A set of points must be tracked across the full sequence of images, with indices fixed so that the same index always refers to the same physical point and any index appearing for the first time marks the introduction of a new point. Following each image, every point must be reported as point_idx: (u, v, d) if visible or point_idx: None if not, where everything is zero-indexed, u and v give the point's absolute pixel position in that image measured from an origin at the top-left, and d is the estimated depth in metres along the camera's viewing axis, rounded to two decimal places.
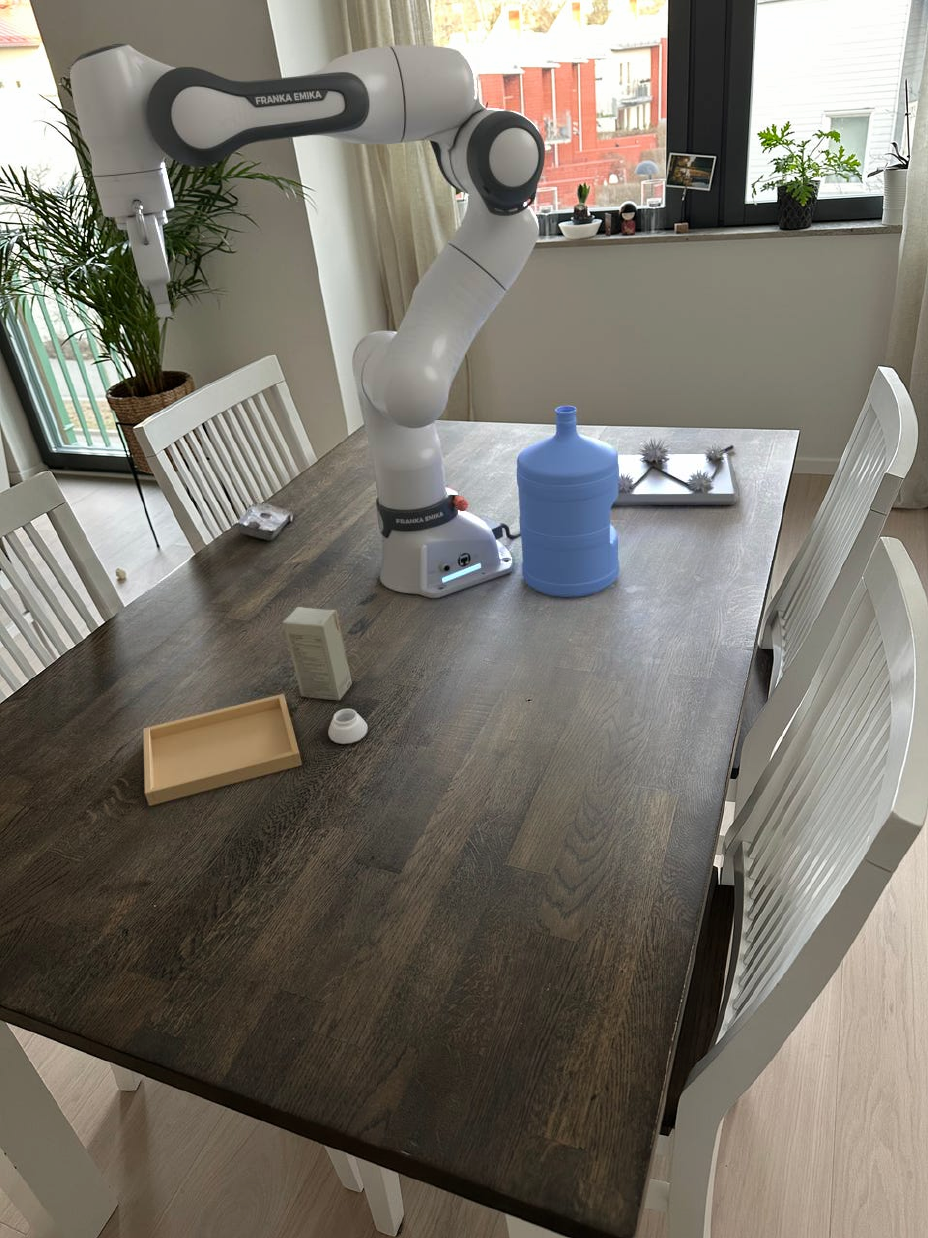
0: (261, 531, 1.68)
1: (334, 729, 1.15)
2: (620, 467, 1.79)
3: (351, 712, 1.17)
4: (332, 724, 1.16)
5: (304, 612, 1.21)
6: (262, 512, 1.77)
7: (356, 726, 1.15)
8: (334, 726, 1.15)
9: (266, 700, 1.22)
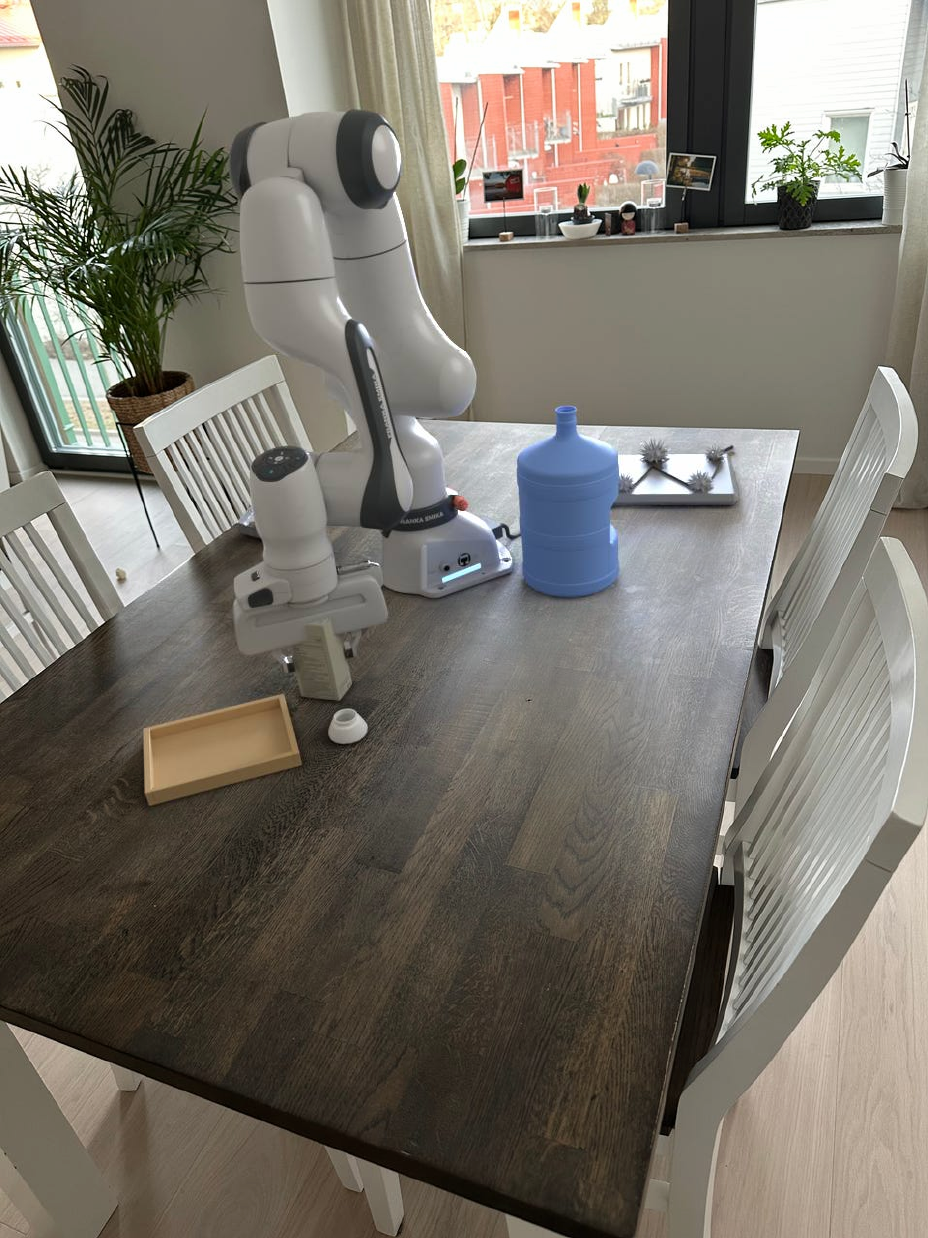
0: None
1: (334, 729, 1.15)
2: (620, 467, 1.79)
3: (351, 712, 1.17)
4: (332, 724, 1.16)
5: None
6: None
7: (356, 726, 1.15)
8: (334, 726, 1.15)
9: (266, 700, 1.22)
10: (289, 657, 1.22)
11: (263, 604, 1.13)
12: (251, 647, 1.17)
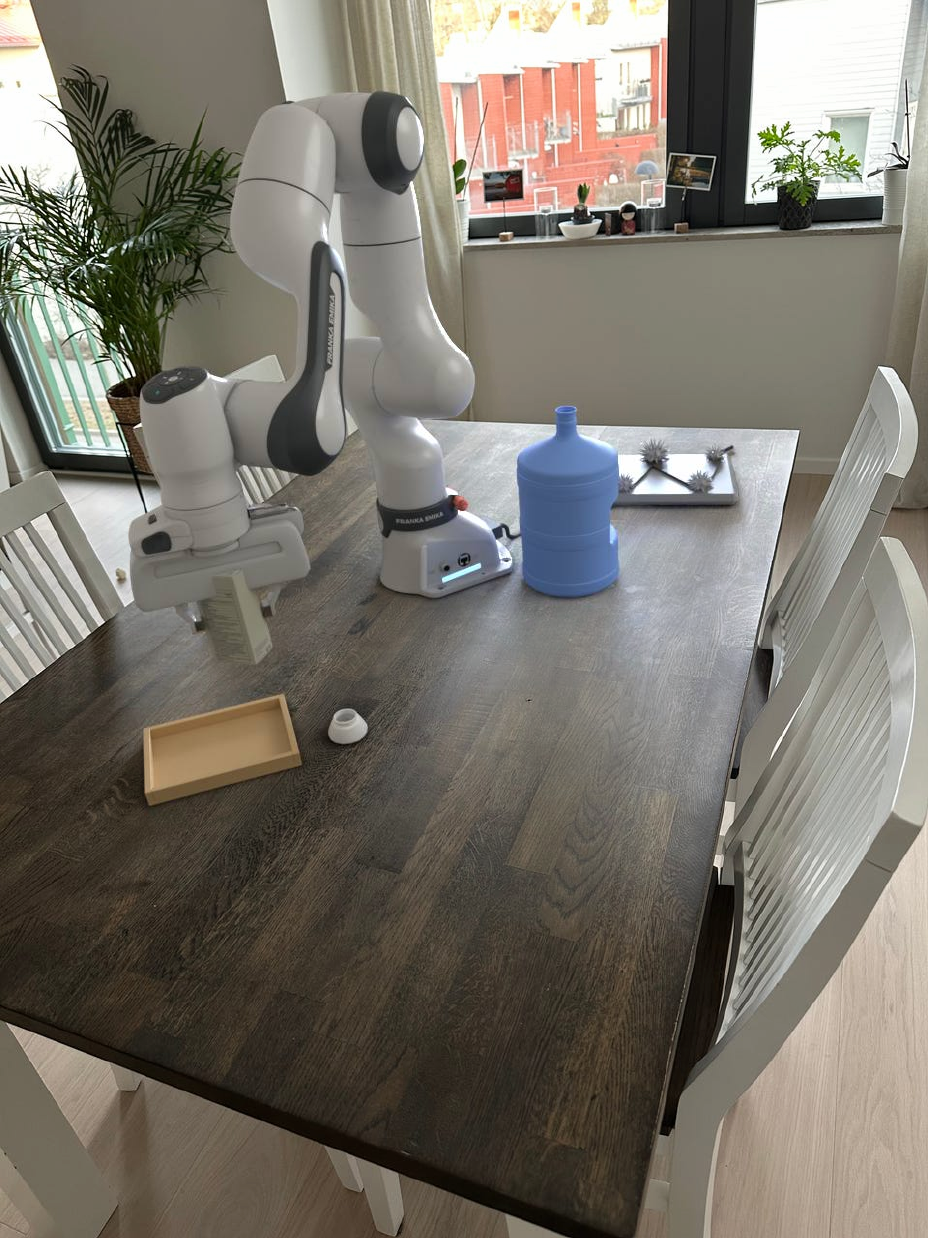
0: None
1: (334, 729, 1.15)
2: (620, 467, 1.79)
3: (351, 712, 1.17)
4: (332, 724, 1.16)
5: None
6: None
7: (356, 726, 1.15)
8: (334, 726, 1.15)
9: (266, 700, 1.22)
10: (198, 615, 1.08)
11: (160, 550, 0.99)
12: (150, 601, 1.02)
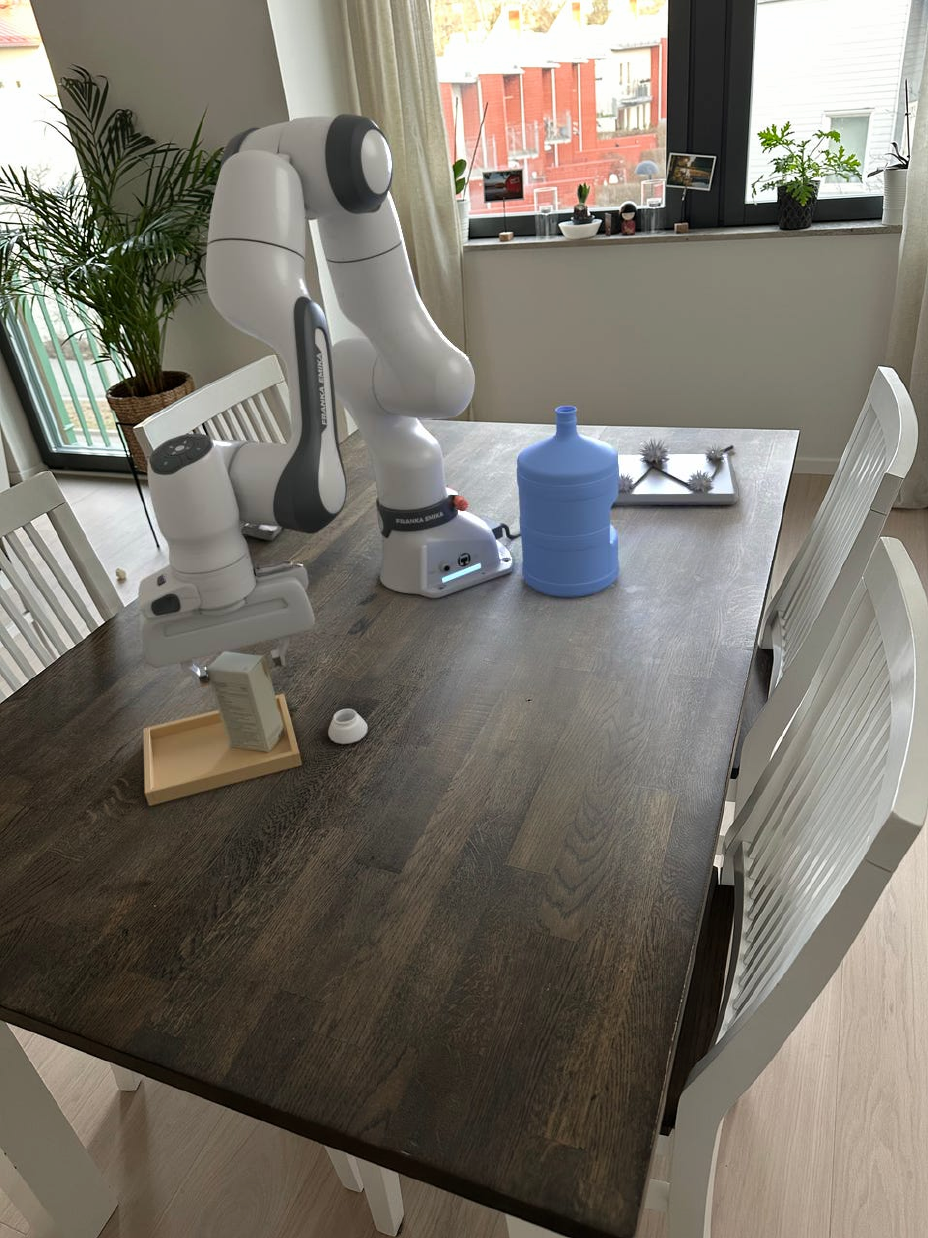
0: (261, 531, 1.68)
1: (334, 729, 1.15)
2: (620, 467, 1.79)
3: (351, 712, 1.17)
4: (332, 724, 1.16)
5: (230, 657, 1.12)
6: None
7: (356, 726, 1.15)
8: (334, 726, 1.15)
9: None
10: (202, 669, 1.10)
11: (169, 611, 1.01)
12: (160, 658, 1.05)
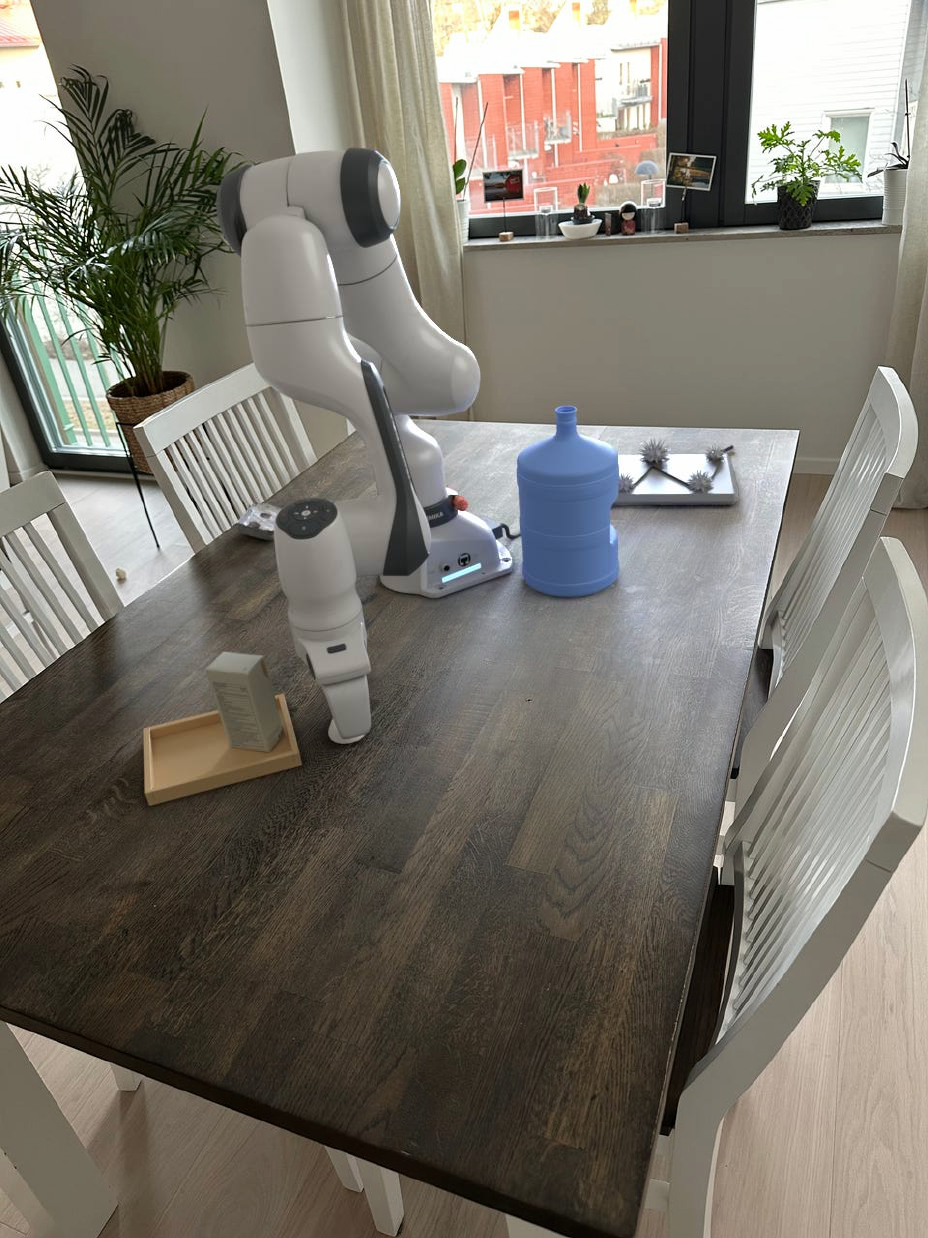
0: (261, 531, 1.68)
1: (334, 729, 1.15)
2: (620, 467, 1.79)
3: None
4: (332, 724, 1.16)
5: (229, 658, 1.12)
6: (262, 512, 1.77)
7: None
8: (334, 726, 1.15)
9: None
10: None
11: None
12: None
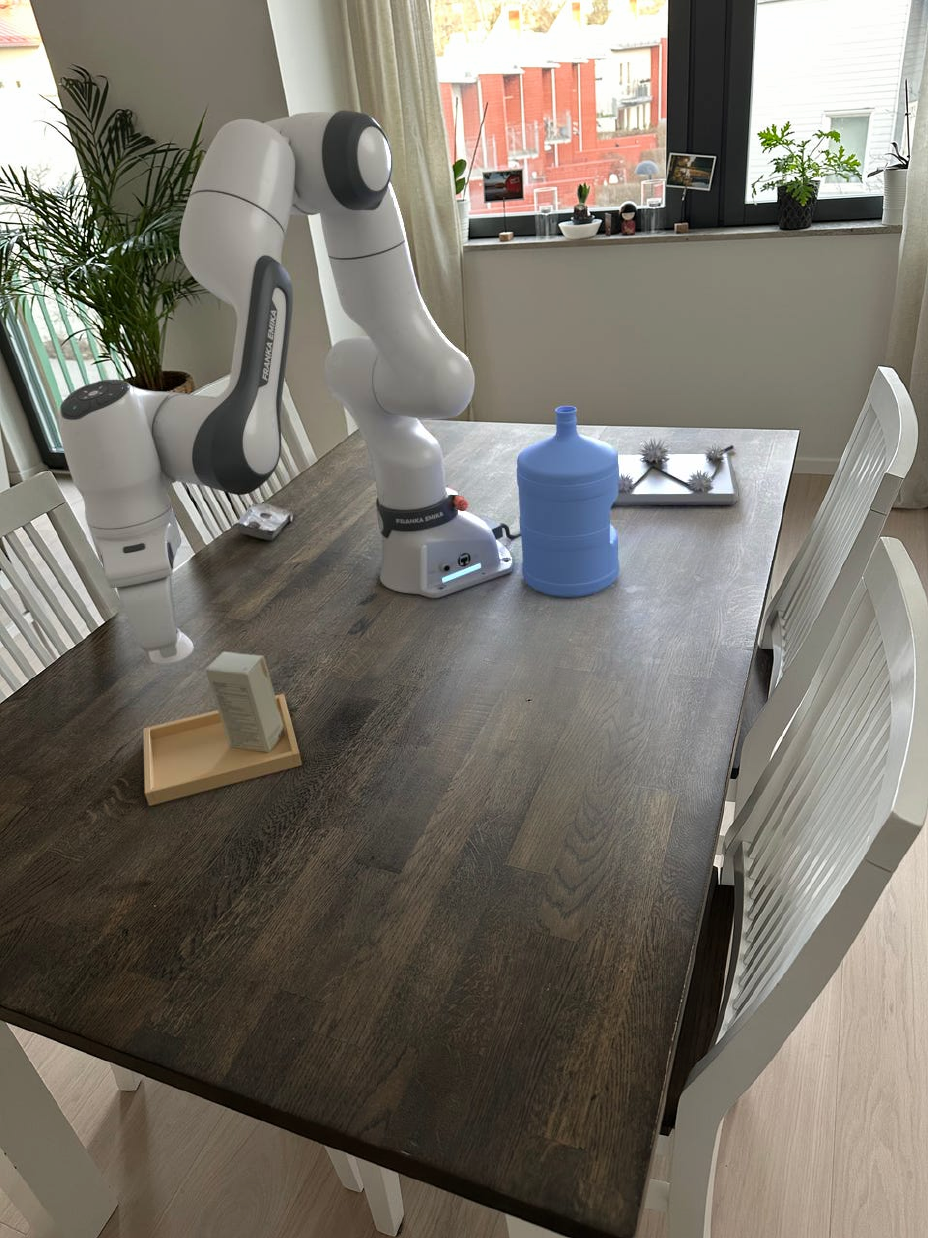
0: (261, 531, 1.68)
1: None
2: (620, 467, 1.79)
3: None
4: None
5: (229, 658, 1.12)
6: (262, 512, 1.77)
7: (178, 645, 1.04)
8: None
9: None
10: None
11: (172, 561, 0.95)
12: None
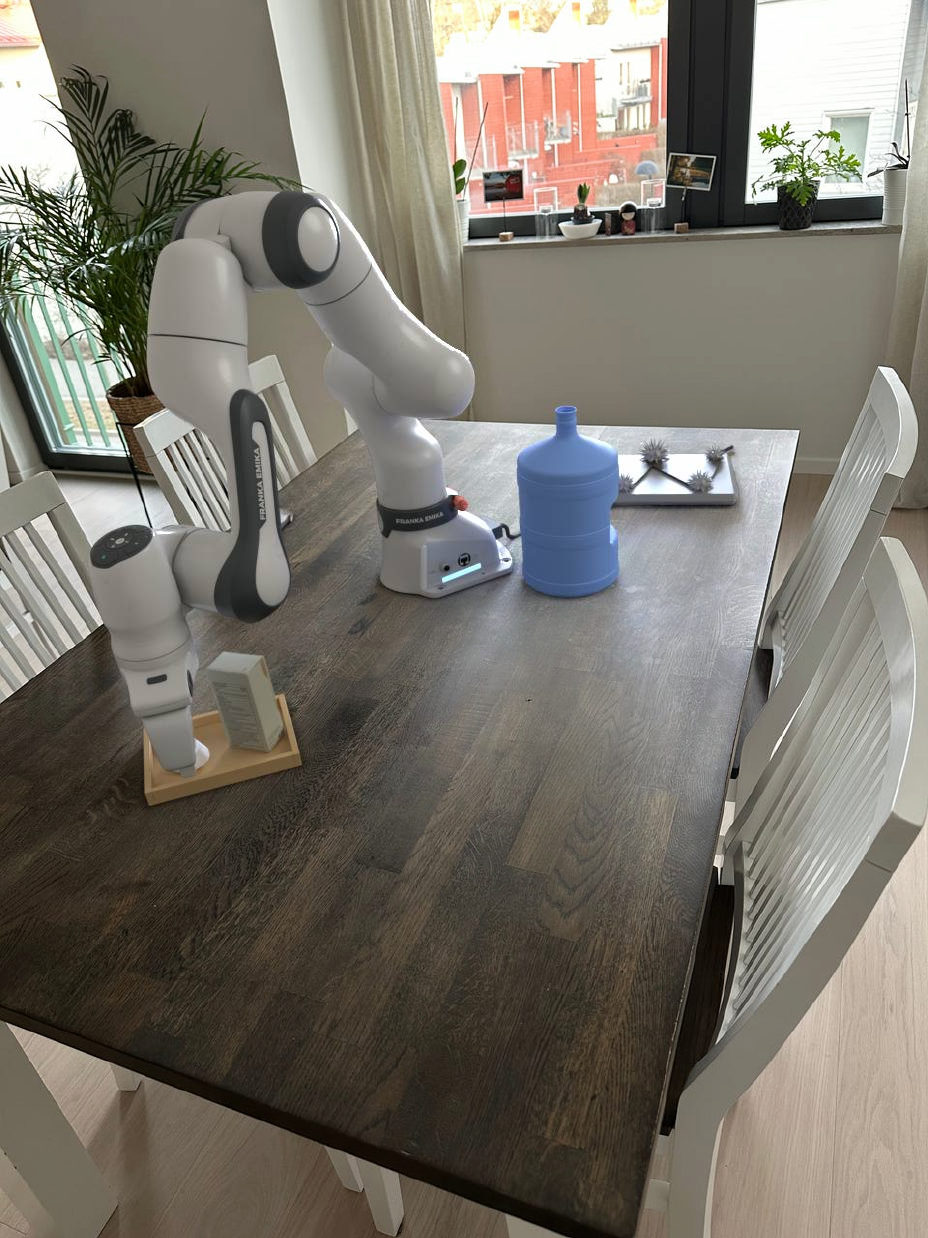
0: None
1: None
2: (620, 467, 1.79)
3: None
4: None
5: (229, 658, 1.12)
6: None
7: None
8: None
9: None
10: None
11: (191, 689, 1.03)
12: None
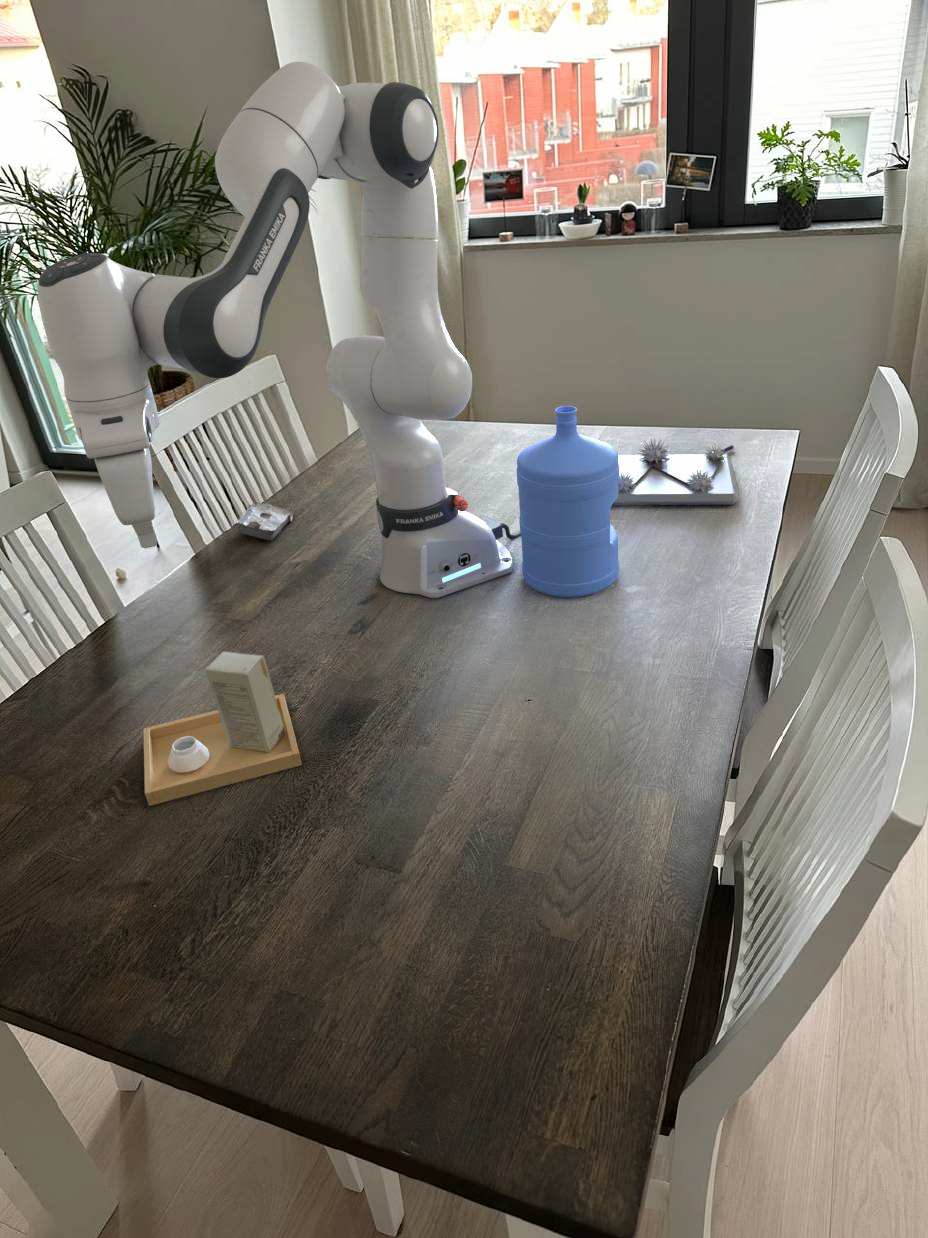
0: (261, 531, 1.68)
1: (172, 757, 1.12)
2: (620, 467, 1.79)
3: (192, 740, 1.14)
4: (171, 752, 1.13)
5: (229, 658, 1.12)
6: (262, 512, 1.77)
7: (195, 755, 1.12)
8: (172, 754, 1.12)
9: None
10: None
11: (150, 436, 0.96)
12: None
